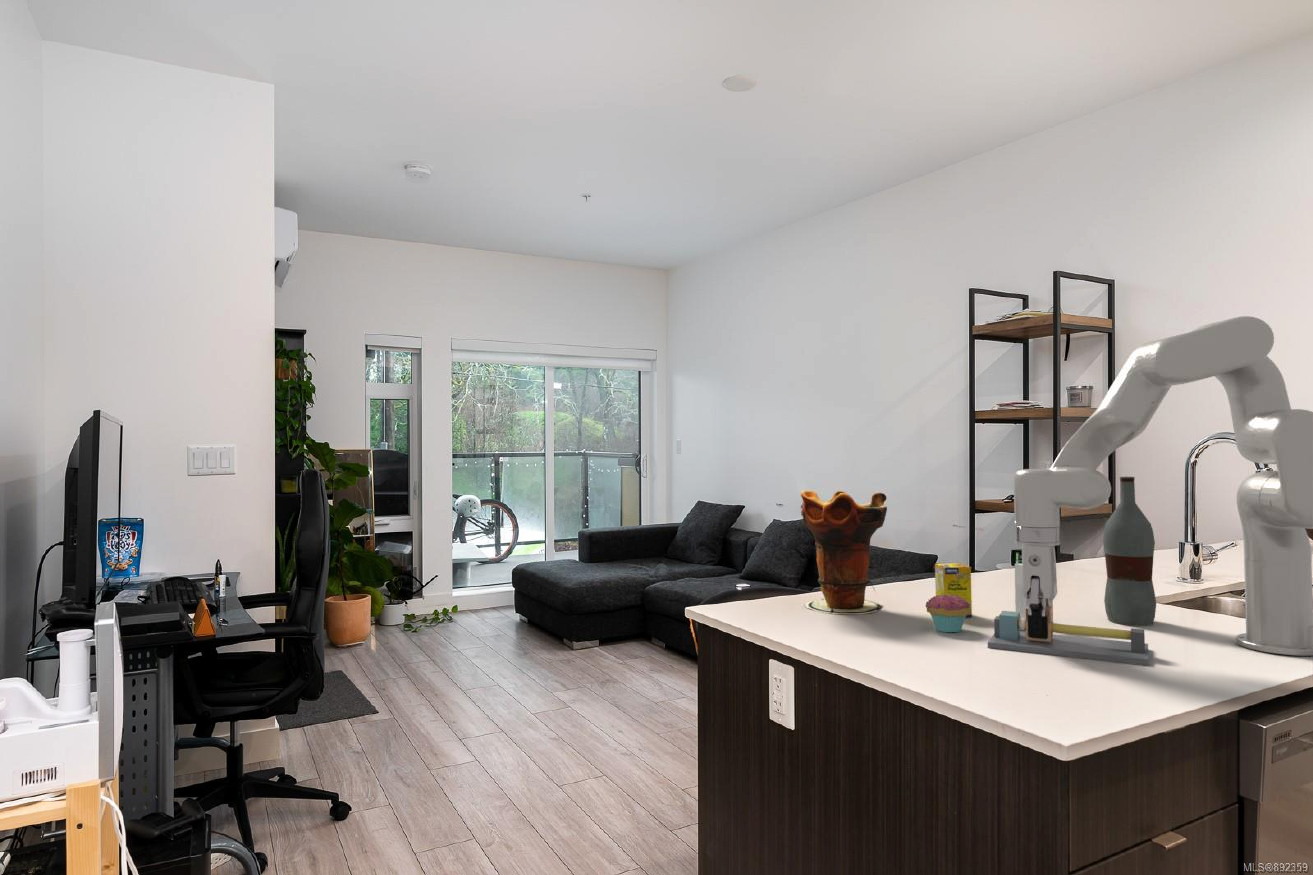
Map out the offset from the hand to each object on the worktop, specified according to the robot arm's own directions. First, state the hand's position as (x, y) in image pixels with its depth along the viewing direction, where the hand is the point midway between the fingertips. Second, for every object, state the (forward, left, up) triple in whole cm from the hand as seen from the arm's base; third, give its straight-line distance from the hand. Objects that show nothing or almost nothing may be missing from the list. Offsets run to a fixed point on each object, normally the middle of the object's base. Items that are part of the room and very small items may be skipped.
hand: (1039, 633), depth 145 cm
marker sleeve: (0, 0, -1) cm, 1 cm away
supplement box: (+19, -20, -2) cm, 28 cm away
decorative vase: (+43, -18, -2) cm, 47 cm away
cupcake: (+17, -5, -2) cm, 18 cm away
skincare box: (+3, -20, -2) cm, 20 cm away
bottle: (-14, -30, -2) cm, 33 cm away
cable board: (-4, 0, -2) cm, 5 cm away
